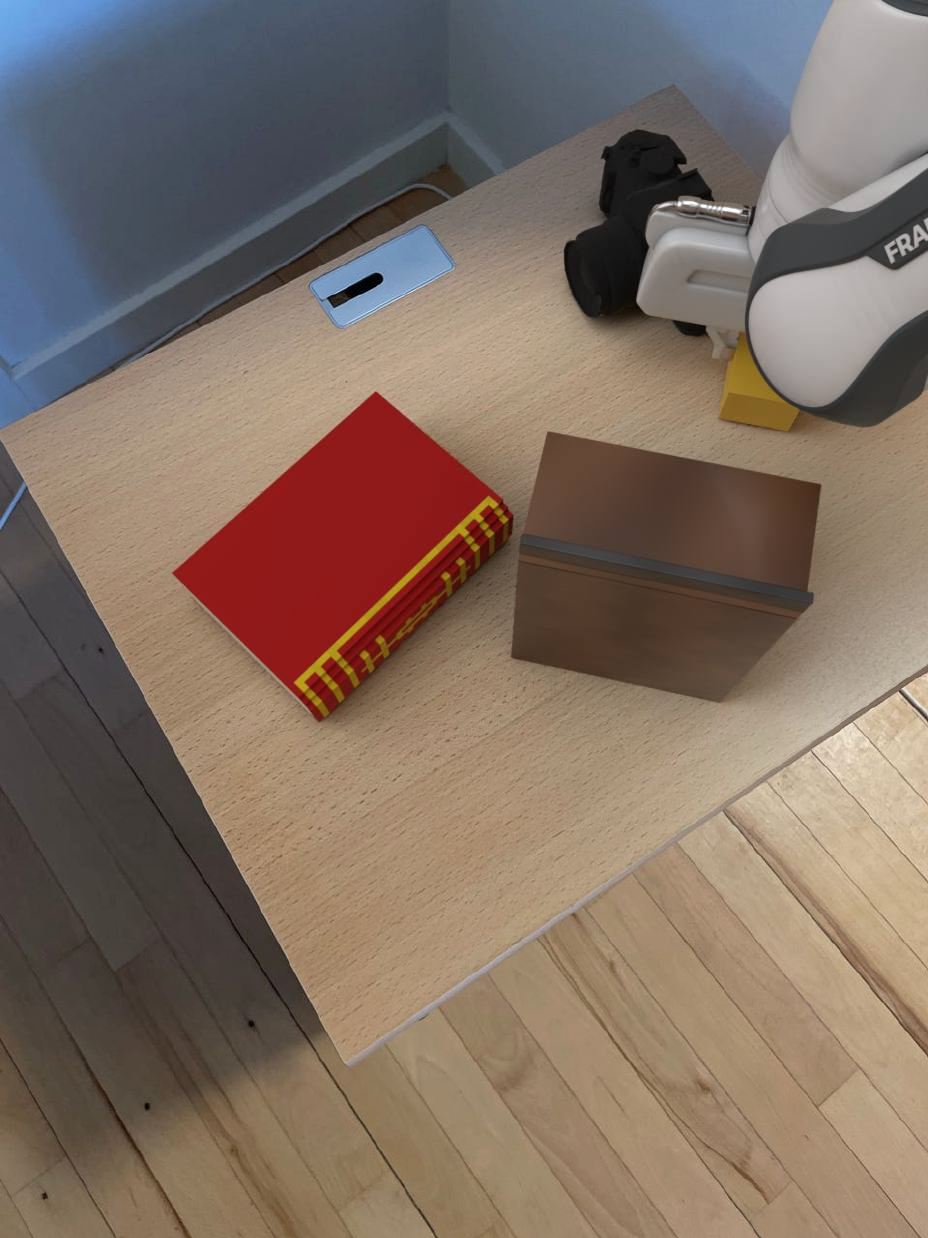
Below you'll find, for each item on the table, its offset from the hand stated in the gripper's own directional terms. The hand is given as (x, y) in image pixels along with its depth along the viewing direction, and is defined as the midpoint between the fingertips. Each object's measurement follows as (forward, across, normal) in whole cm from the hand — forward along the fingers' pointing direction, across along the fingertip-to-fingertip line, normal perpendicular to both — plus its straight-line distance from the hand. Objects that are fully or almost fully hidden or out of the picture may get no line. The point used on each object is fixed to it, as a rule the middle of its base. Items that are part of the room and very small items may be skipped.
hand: (768, 360), depth 70 cm
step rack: (+2, -6, -18) cm, 20 cm away
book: (+2, -25, -21) cm, 33 cm away
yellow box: (+2, 0, 0) cm, 2 cm away
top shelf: (-15, -6, -22) cm, 27 cm away
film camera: (+2, -11, +6) cm, 13 cm away
